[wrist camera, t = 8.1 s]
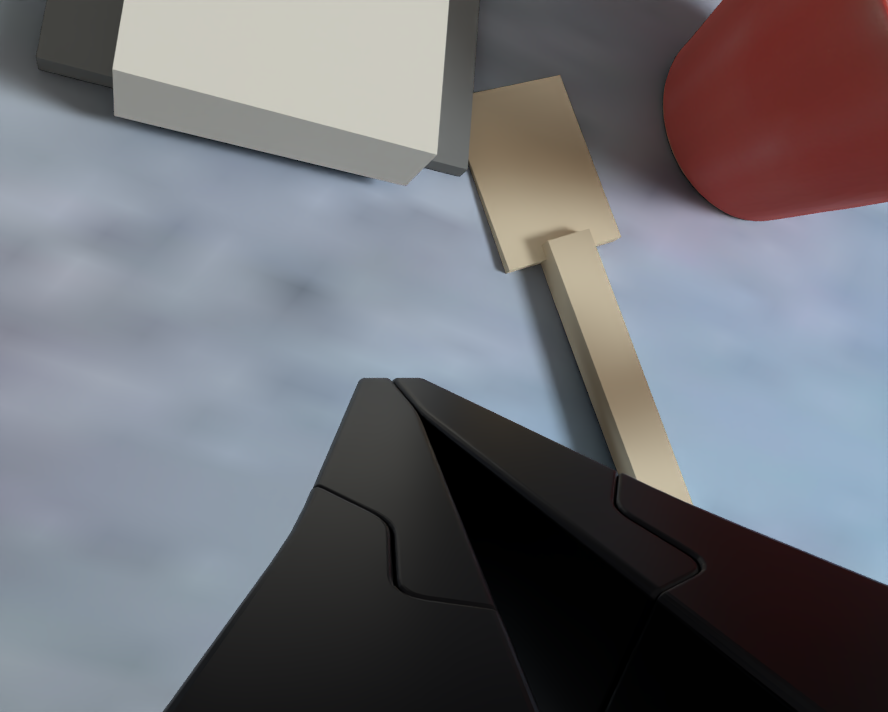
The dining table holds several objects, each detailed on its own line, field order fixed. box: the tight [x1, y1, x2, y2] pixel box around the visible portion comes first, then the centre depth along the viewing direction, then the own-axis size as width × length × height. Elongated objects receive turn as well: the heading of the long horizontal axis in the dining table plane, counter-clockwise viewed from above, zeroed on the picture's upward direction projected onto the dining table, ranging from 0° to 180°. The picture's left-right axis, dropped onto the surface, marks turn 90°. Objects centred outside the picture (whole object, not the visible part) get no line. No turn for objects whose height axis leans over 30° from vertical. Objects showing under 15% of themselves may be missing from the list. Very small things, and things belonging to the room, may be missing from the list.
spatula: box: [468, 75, 693, 505], centre depth 24 cm, size 18×4×1 cm, turn 19°
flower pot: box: [663, 0, 888, 221], centre depth 24 cm, size 11×11×10 cm
